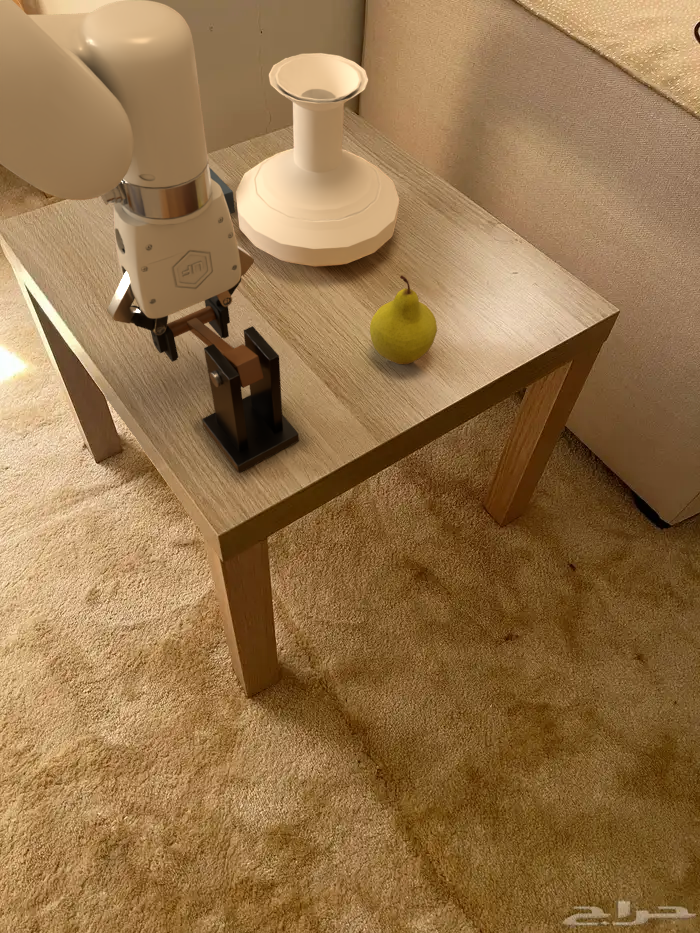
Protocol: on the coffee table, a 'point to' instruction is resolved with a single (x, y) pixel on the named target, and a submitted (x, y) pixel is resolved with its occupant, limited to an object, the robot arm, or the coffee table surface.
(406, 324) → the fruit
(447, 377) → the coffee table surface
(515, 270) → the coffee table surface
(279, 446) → the bracket
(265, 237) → the white vase
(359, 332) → the coffee table surface
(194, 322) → the lever
